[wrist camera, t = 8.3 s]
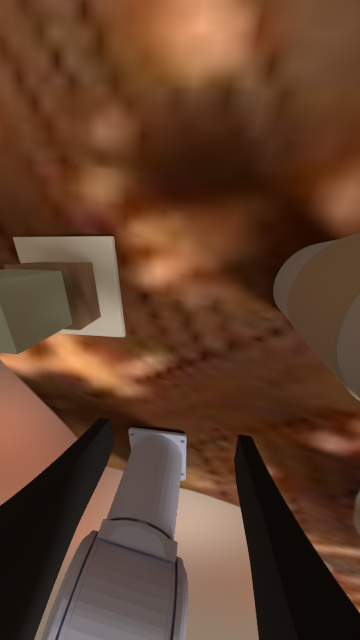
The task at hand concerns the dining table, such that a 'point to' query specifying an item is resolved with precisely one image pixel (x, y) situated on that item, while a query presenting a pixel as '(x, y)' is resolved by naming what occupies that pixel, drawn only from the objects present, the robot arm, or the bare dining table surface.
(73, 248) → the stone tile
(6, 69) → the dining table surface
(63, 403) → the dining table surface
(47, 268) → the walnut block
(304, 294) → the coffee cup
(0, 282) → the sage block
